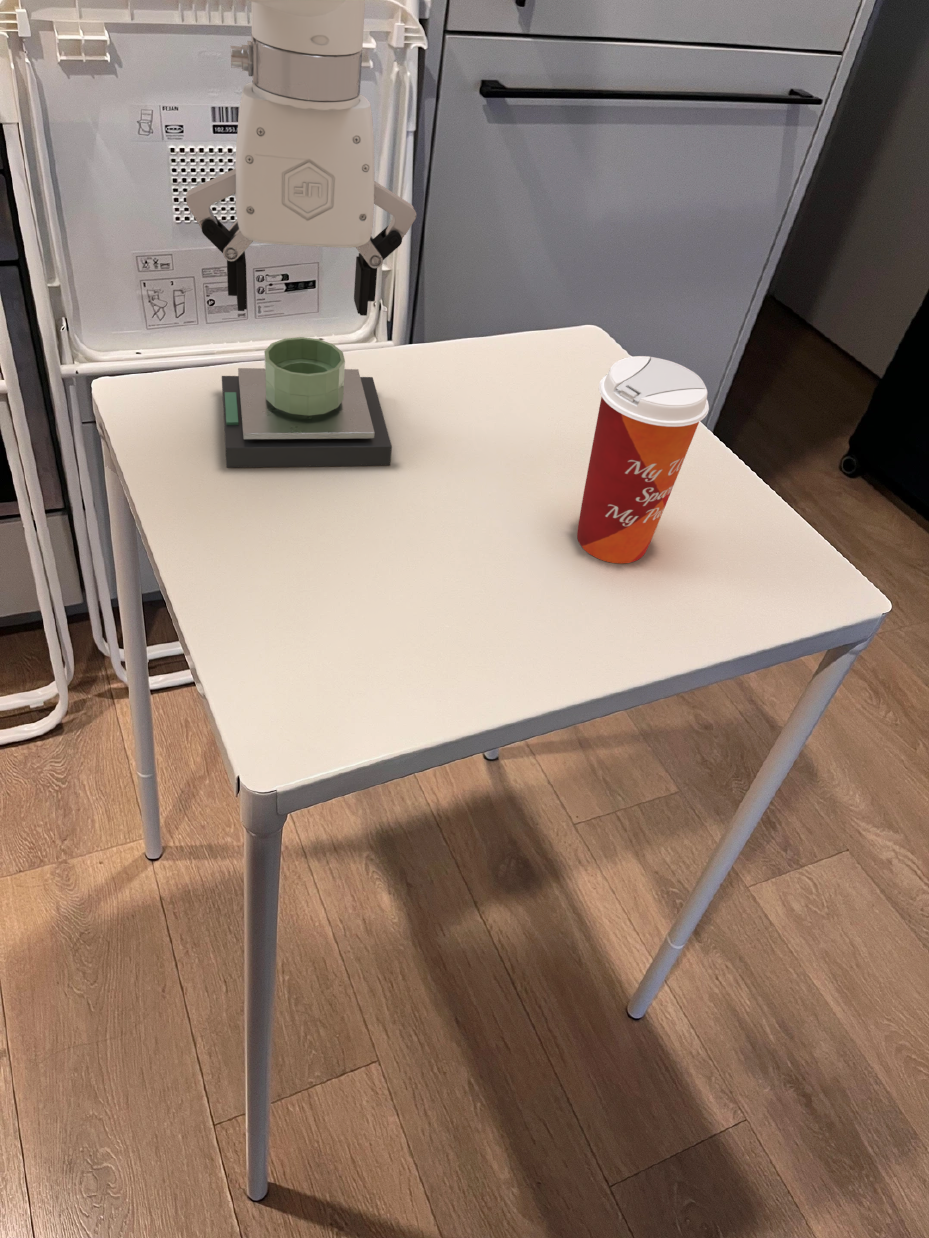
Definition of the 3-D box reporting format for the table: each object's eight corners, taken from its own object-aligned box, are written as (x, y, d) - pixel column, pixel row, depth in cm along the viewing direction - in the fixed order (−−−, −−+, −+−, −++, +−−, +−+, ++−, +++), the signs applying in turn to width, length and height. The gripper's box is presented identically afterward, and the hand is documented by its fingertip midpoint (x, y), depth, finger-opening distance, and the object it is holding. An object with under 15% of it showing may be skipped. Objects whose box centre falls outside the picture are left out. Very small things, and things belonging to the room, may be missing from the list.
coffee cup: (615, 585, 75) (666, 420, 65) (542, 531, 79) (580, 367, 69) (681, 550, 80) (738, 390, 69) (609, 500, 84) (653, 342, 74)
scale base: (226, 468, 80) (225, 444, 79) (222, 394, 89) (221, 372, 87) (390, 465, 83) (392, 443, 82) (371, 395, 92) (372, 374, 90)
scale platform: (243, 439, 79) (243, 433, 79) (238, 373, 87) (238, 367, 86) (374, 438, 82) (374, 432, 81) (358, 374, 89) (358, 369, 89)
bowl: (268, 420, 81) (267, 375, 78) (263, 379, 86) (262, 336, 83) (346, 419, 82) (348, 376, 79) (337, 380, 87) (339, 337, 84)
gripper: (177, 74, 62) (192, 323, 73) (437, 98, 66) (413, 330, 77) (178, 46, 67) (192, 282, 78) (418, 71, 71) (398, 291, 82)
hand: (301, 306), depth 78 cm, fingers open, 9 cm apart
